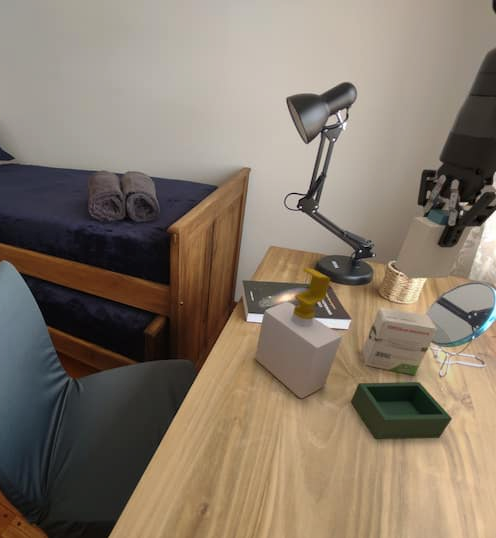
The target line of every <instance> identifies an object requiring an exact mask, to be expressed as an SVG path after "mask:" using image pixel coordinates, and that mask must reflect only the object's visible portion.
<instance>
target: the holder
mask: <svg viewBox="0 0 496 538" xmlns="http://www.w3.org/2000/svg"><path fill="white" fill-rule="evenodd" d="M350 403H351V404H352V405H353V407H354V409H355V410H356V412H357V413H358V415H359V416H360V418H361V419H362V421H363V423H364V424H365V425H366V427H367V428H368V430H369V432H370V433H371V435H372V436H373V438H374V439H375V440H381V439H382V440H384V439H385V440H388V439H426V438H427V439H432V438H433V439H434V438H440V437H441V436H442V435H443V433H444V432H445V430H446V429H447V427H448V425H449V423H450V422H451V421H452V419H453V417H451V415H450V414H449V413H448V412H447V411H446V410H445V409H444V408H443V407H442V405H441V404H440V403H439V402H438V401H437V400H436V399H435V398H434V397H433V395H432V394H431V393H430V392H429V391H428V390H427V389H426V388H425V387H424V386H423V384H422V383H421V382H419V381H407V382H406V381H402V382H401V381H399V382H397V381H395V382H358V384H357V386H356V389H355V391H354V394H353V396H352V398H351V401H350Z"/></svg>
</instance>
